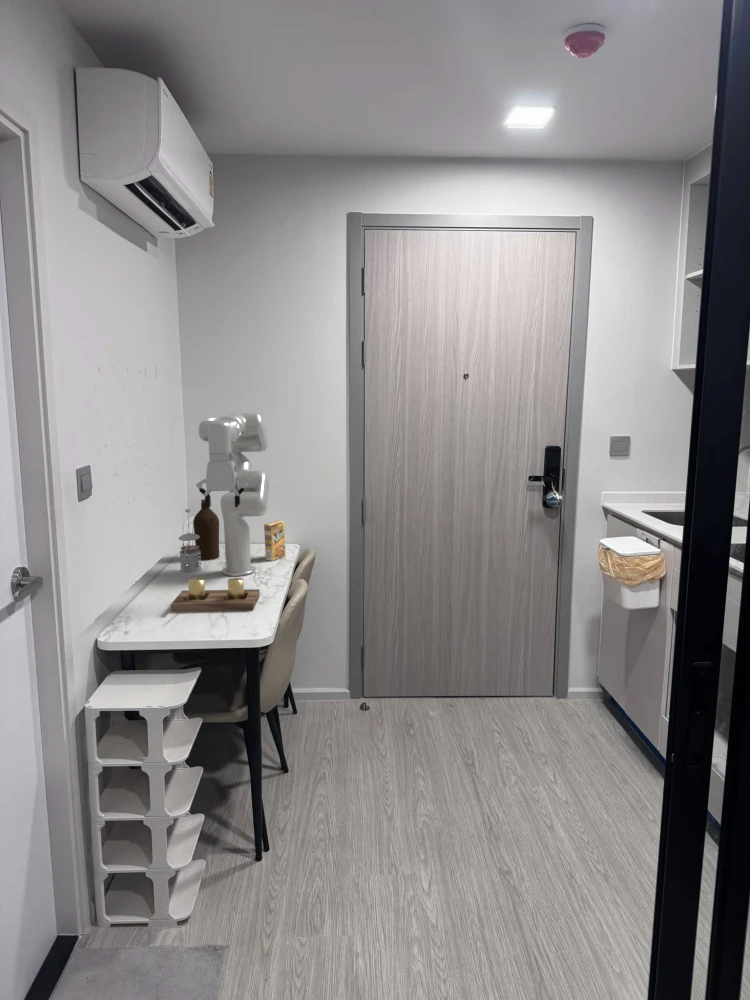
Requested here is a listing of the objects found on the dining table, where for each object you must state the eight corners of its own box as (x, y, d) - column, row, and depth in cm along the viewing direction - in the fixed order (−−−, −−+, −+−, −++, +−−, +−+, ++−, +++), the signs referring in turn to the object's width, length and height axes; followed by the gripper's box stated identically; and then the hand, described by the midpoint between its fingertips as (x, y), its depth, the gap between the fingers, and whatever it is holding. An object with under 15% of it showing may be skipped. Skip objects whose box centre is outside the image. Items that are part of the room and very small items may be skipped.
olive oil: (225, 555, 282) (222, 498, 278) (212, 561, 272) (209, 502, 268) (203, 553, 285) (200, 497, 281) (190, 559, 275) (186, 501, 271)
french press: (207, 568, 262) (204, 506, 258) (197, 576, 251) (193, 512, 246) (184, 567, 263) (180, 506, 259) (172, 576, 252) (168, 512, 247)
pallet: (182, 600, 222) (182, 590, 222) (259, 599, 223) (259, 589, 223) (171, 614, 209) (170, 604, 208) (253, 613, 209) (253, 602, 209)
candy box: (273, 561, 271) (271, 525, 269) (264, 560, 274) (263, 524, 271) (286, 556, 279) (284, 521, 276) (278, 555, 281) (276, 520, 278)
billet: (190, 601, 218) (190, 577, 216) (206, 600, 218) (205, 577, 217) (188, 606, 213) (187, 582, 211) (203, 605, 213) (203, 582, 212)
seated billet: (230, 601, 218) (229, 577, 217) (245, 600, 218) (244, 577, 217) (227, 606, 213) (226, 582, 212) (243, 605, 214) (242, 582, 212)
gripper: (247, 456, 228) (249, 504, 231) (197, 457, 228) (200, 505, 231) (244, 458, 221) (246, 508, 224) (192, 459, 221) (195, 509, 223)
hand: (222, 506), depth 227 cm, fingers open, 9 cm apart
